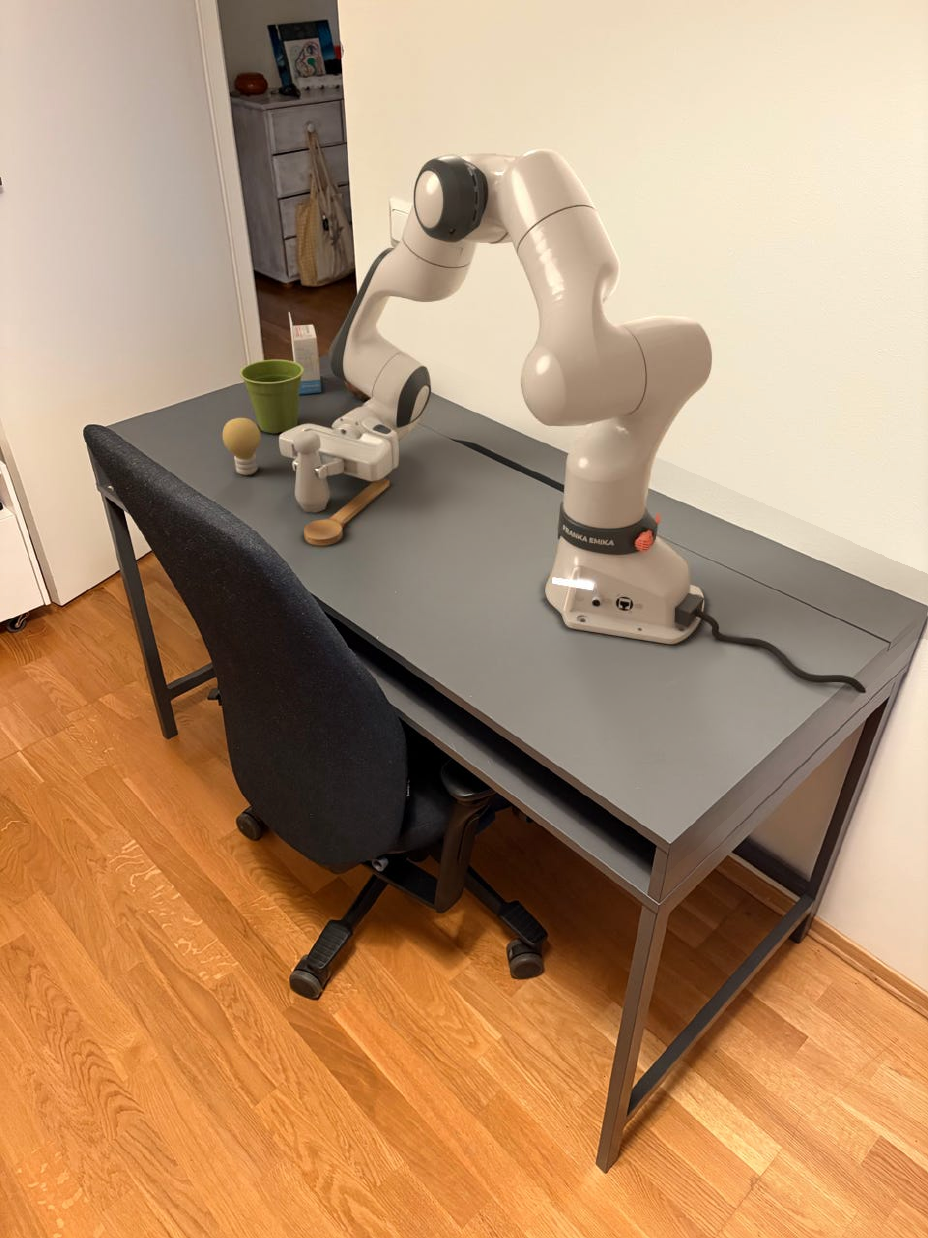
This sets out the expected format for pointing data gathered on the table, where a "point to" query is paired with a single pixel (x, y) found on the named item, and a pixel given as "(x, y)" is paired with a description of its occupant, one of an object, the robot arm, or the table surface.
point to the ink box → (306, 357)
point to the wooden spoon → (342, 516)
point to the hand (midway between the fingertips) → (306, 470)
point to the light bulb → (242, 443)
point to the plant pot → (274, 393)
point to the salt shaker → (309, 473)
